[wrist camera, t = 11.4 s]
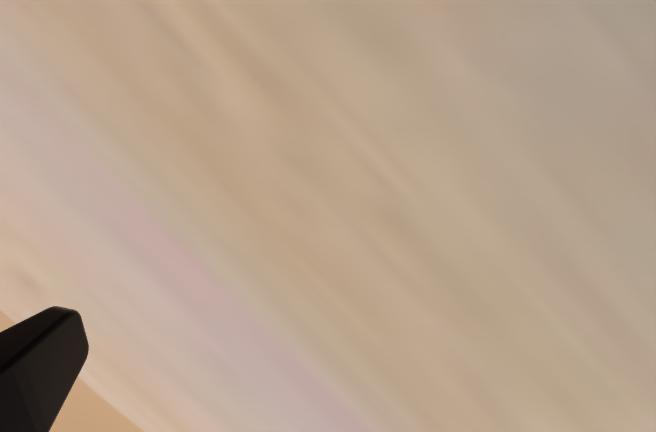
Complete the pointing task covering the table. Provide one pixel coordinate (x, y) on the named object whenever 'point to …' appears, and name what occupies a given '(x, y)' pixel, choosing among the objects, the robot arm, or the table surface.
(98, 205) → the table surface
